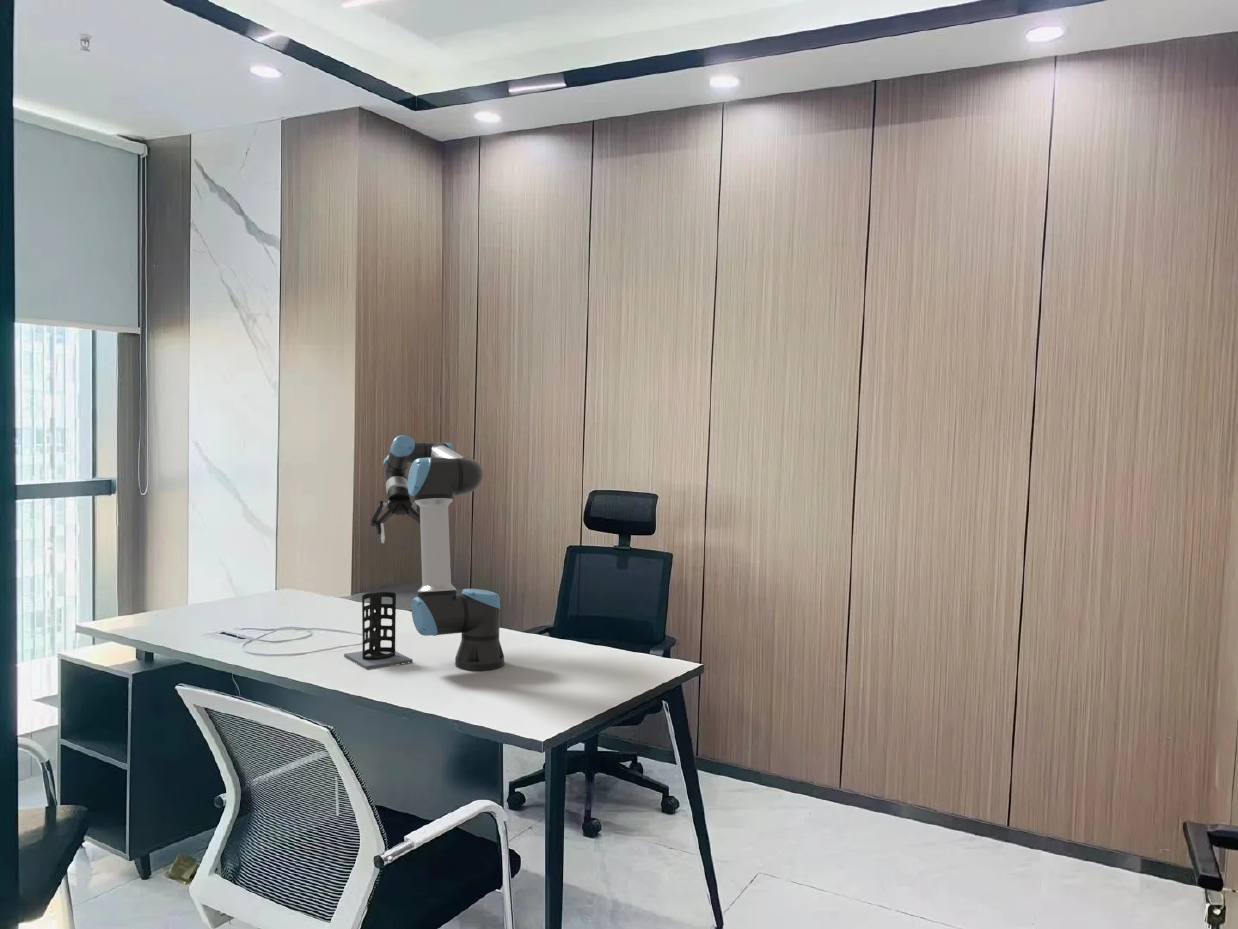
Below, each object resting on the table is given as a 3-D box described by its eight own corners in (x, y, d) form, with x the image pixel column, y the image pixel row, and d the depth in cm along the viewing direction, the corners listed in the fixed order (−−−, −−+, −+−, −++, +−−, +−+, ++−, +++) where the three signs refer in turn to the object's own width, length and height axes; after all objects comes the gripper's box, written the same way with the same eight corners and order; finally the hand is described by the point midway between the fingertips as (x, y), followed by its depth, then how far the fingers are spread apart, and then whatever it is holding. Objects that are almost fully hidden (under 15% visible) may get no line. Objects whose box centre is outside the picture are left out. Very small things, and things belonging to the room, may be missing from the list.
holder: (368, 662, 273) (370, 597, 272) (355, 657, 278) (356, 593, 277) (399, 656, 281) (400, 593, 280) (385, 651, 286) (386, 589, 285)
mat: (412, 662, 277) (412, 659, 277) (366, 669, 268) (366, 666, 268) (388, 650, 291) (388, 647, 291) (344, 656, 282) (344, 653, 282)
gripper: (432, 499, 317) (439, 546, 303) (359, 499, 307) (364, 548, 294) (435, 485, 312) (443, 532, 298) (361, 485, 302) (366, 534, 289)
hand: (404, 540), depth 296 cm, fingers open, 13 cm apart
